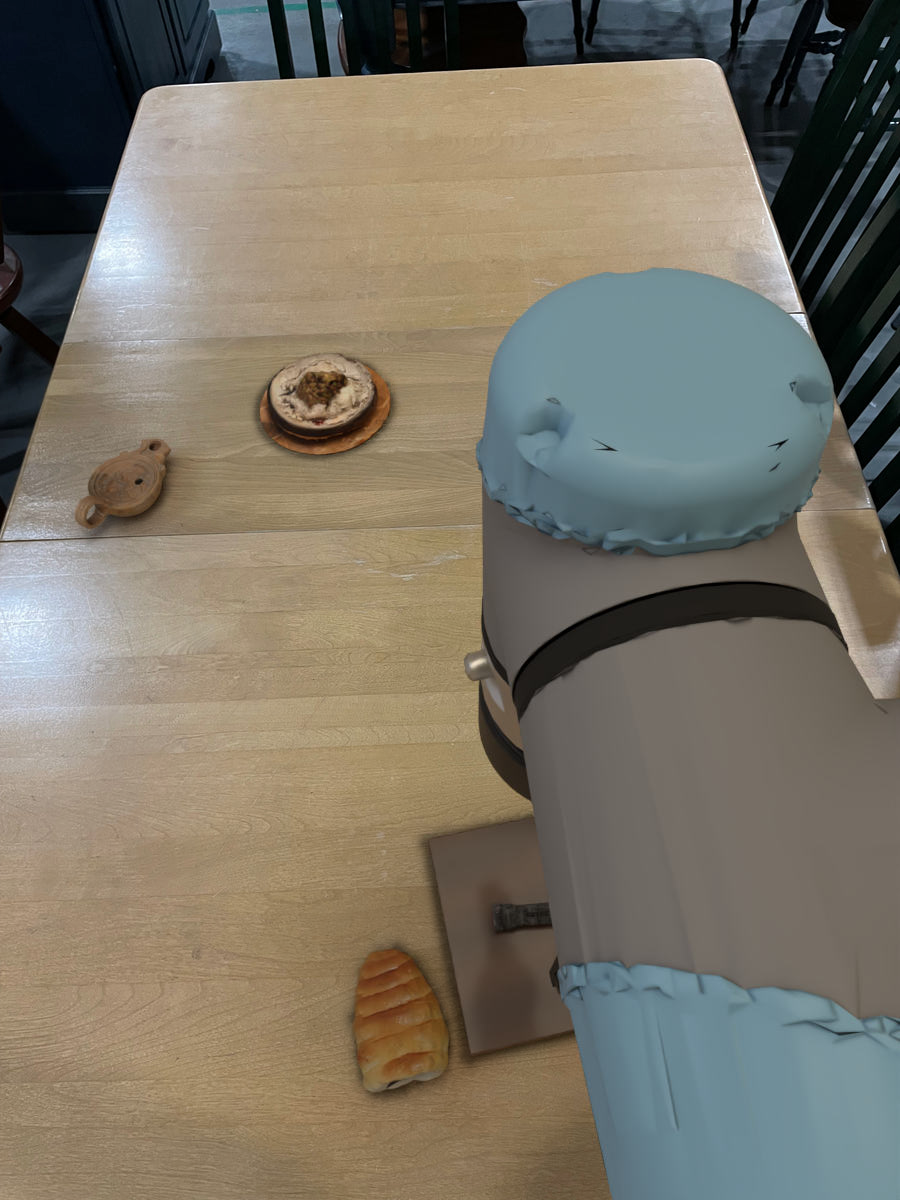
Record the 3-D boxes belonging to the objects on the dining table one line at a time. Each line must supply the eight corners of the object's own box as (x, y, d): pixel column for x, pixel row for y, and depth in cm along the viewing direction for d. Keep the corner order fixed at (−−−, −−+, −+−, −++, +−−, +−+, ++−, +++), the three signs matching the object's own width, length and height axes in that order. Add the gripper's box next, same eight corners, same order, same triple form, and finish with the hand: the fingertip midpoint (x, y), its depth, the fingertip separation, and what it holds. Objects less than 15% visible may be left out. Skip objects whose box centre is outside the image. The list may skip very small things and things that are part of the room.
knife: (728, 862, 66) (745, 930, 63) (722, 869, 68) (738, 935, 65) (490, 881, 66) (496, 950, 63) (490, 888, 67) (496, 954, 65)
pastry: (340, 965, 66) (334, 957, 62) (424, 940, 67) (422, 930, 63) (367, 1101, 61) (362, 1099, 58) (458, 1071, 62) (457, 1068, 59)
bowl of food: (273, 468, 93) (266, 441, 89) (249, 376, 100) (241, 349, 97) (403, 436, 95) (401, 409, 91) (370, 349, 103) (366, 321, 99)
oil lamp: (146, 445, 95) (131, 414, 91) (198, 470, 93) (185, 439, 89) (64, 528, 89) (43, 497, 85) (117, 556, 87) (99, 527, 83)
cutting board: (778, 982, 64) (783, 980, 63) (470, 1056, 62) (470, 1054, 61) (703, 784, 73) (706, 779, 72) (428, 843, 71) (428, 839, 70)
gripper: (417, 446, 37) (435, 671, 55) (581, 1099, 24) (534, 1113, 42) (584, 417, 37) (547, 649, 55) (833, 1037, 24) (679, 1077, 42)
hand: (541, 848), depth 49 cm, fingers open, 13 cm apart
